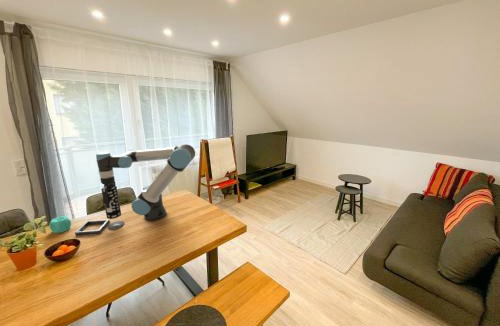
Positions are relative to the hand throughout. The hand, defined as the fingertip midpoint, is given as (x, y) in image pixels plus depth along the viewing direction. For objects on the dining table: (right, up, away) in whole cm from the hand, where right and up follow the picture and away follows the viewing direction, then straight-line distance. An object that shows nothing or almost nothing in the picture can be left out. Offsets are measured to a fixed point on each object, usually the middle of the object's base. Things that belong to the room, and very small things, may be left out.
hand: (112, 208), depth 145 cm
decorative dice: (-33, -14, -2) cm, 35 cm away
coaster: (0, -12, +3) cm, 13 cm away
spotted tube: (0, -5, +2) cm, 6 cm away
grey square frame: (-12, -13, 0) cm, 18 cm away
